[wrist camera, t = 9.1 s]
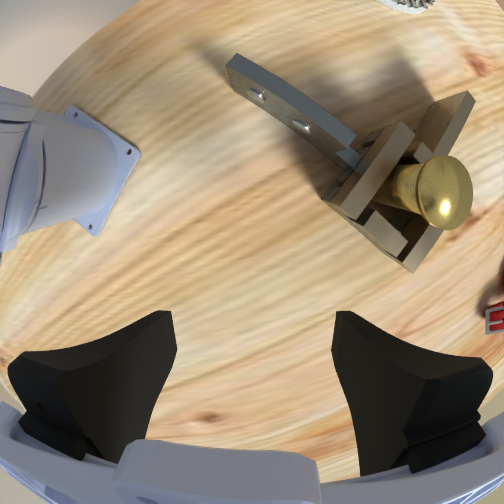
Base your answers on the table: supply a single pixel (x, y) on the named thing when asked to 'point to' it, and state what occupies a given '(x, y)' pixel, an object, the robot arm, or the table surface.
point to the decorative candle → (407, 5)
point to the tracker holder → (495, 319)
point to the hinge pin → (430, 191)
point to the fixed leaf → (307, 126)
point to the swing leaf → (407, 153)
